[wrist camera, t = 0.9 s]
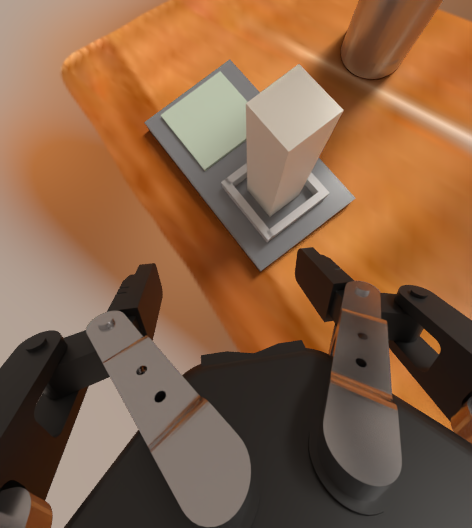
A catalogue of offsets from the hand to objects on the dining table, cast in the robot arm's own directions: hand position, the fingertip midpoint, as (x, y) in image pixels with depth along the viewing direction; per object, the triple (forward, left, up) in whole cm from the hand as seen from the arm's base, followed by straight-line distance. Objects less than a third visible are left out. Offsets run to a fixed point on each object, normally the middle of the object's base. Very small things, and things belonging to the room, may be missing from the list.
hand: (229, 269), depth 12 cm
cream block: (-12, +5, -16) cm, 21 cm away
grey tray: (-17, +1, -18) cm, 25 cm away
